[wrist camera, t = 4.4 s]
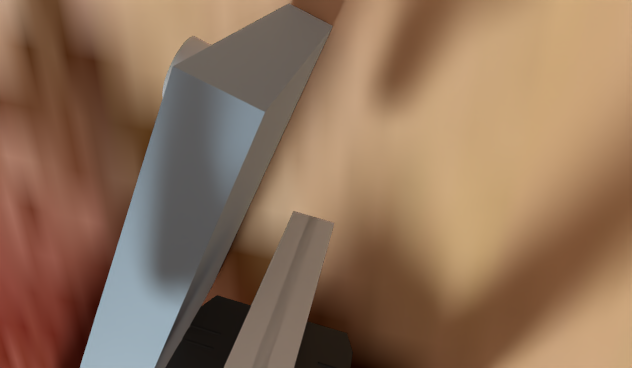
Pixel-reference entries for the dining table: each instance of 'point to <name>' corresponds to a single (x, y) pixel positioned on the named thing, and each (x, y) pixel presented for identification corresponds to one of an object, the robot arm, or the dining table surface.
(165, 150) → the door
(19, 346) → the dining table surface
